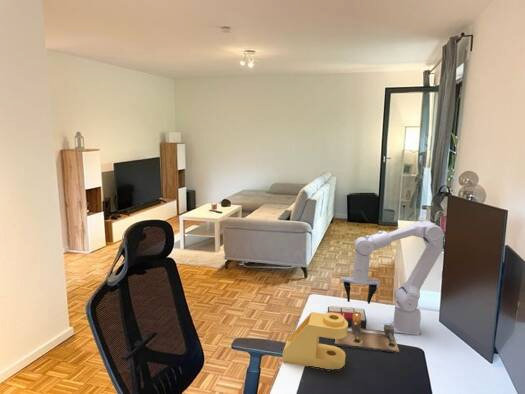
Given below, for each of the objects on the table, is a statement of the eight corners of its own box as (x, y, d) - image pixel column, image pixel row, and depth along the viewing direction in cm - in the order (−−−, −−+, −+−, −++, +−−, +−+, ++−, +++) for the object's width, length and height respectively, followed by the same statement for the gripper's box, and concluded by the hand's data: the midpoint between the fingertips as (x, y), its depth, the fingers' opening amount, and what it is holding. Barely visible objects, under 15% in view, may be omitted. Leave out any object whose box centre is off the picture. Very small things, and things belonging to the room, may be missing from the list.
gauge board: (391, 334, 144) (393, 323, 143) (398, 353, 131) (400, 341, 131) (333, 328, 147) (334, 317, 146) (334, 346, 134) (335, 334, 134)
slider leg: (359, 329, 144) (360, 311, 143) (361, 341, 135) (363, 322, 134) (351, 328, 144) (352, 311, 143) (353, 340, 136) (354, 321, 135)
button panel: (327, 304, 160) (364, 307, 157) (327, 314, 161) (364, 316, 158) (327, 316, 149) (366, 319, 147) (327, 326, 150) (366, 329, 147)
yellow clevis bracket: (345, 357, 128) (348, 313, 126) (344, 373, 119) (347, 326, 117) (287, 347, 133) (289, 304, 130) (282, 361, 124) (284, 316, 122)
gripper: (379, 266, 148) (376, 299, 150) (341, 263, 150) (339, 295, 152) (381, 273, 141) (378, 307, 144) (342, 269, 143) (340, 303, 146)
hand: (358, 301), depth 148 cm, fingers open, 7 cm apart
